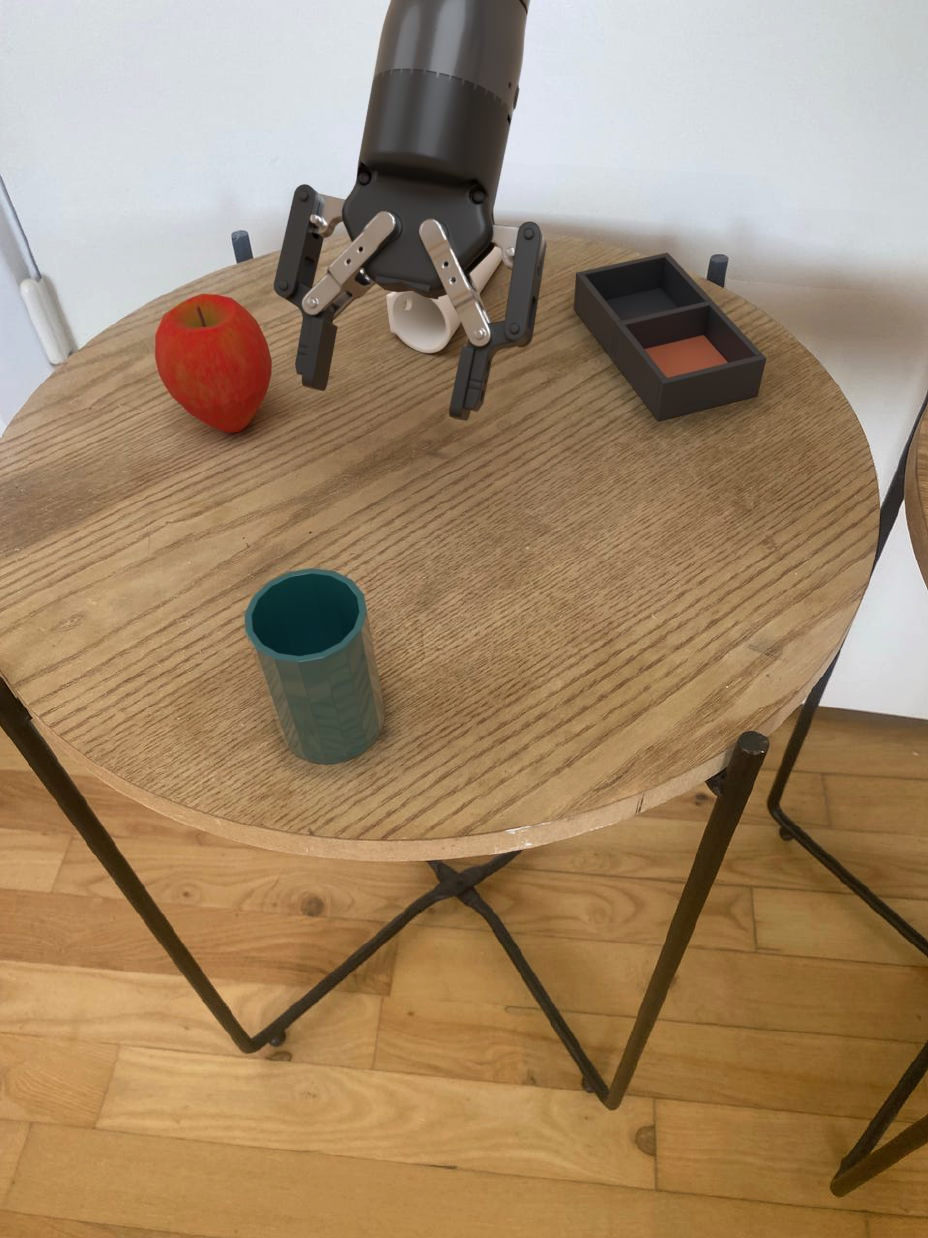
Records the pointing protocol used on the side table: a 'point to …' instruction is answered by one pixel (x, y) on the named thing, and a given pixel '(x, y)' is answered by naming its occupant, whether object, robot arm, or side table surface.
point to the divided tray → (667, 336)
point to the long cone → (433, 312)
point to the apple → (214, 360)
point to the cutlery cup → (317, 663)
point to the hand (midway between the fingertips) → (385, 403)
